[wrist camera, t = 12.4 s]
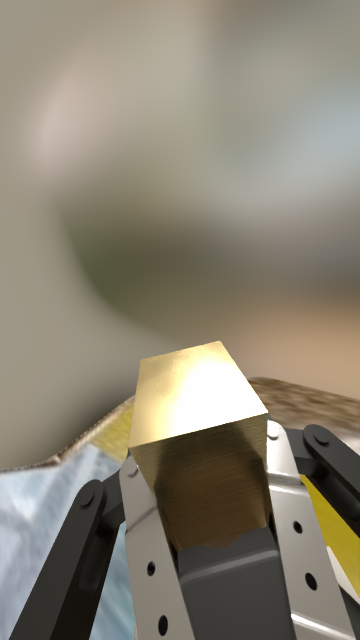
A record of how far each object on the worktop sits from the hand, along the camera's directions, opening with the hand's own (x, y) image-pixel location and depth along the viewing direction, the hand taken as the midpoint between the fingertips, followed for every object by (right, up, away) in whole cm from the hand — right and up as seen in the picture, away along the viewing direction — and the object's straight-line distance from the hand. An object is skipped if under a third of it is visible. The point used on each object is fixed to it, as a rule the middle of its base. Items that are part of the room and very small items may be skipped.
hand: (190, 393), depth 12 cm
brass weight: (+2, -6, 0) cm, 7 cm away
